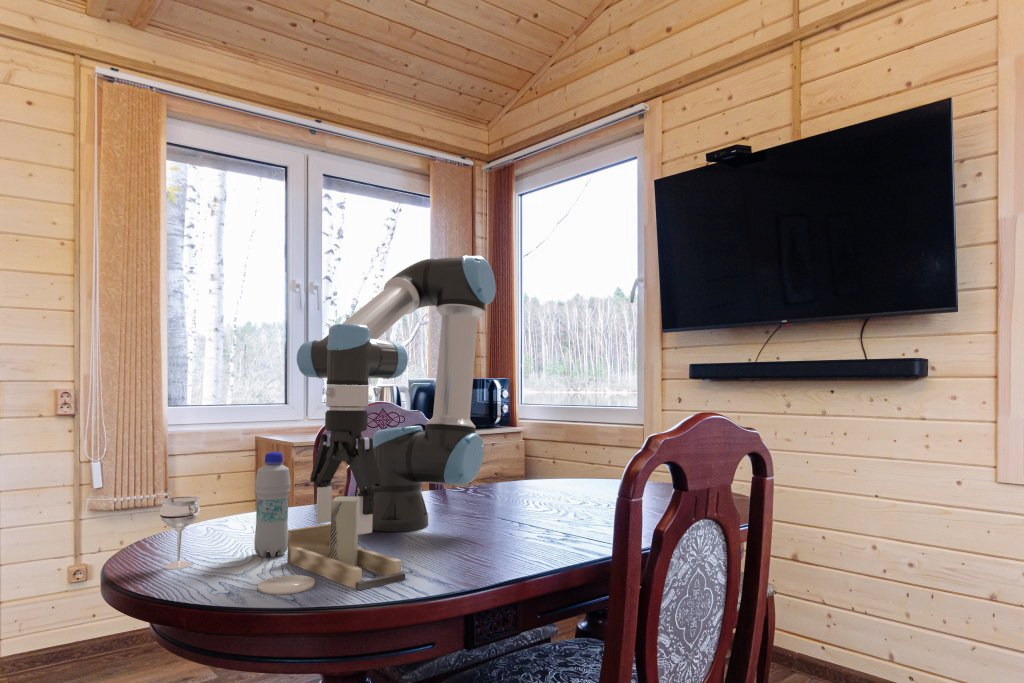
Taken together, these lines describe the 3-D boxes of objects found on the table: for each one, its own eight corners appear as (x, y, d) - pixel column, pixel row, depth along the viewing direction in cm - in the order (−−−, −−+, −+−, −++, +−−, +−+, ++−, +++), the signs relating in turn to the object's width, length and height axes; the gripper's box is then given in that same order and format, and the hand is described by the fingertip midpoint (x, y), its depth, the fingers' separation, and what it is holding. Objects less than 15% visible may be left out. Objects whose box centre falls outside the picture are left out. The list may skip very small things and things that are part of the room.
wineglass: (201, 567, 127) (203, 500, 128) (159, 572, 124) (162, 503, 125) (195, 559, 133) (197, 495, 134) (155, 563, 130) (158, 498, 130)
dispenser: (287, 562, 131) (288, 529, 131) (331, 554, 138) (331, 523, 138) (359, 590, 114) (359, 552, 114) (405, 579, 120) (405, 543, 121)
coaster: (248, 586, 116) (248, 582, 116) (298, 575, 122) (298, 572, 122) (273, 598, 109) (273, 594, 110) (325, 586, 116) (325, 582, 116)
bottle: (296, 552, 139) (298, 450, 140) (274, 560, 133) (277, 454, 134) (268, 549, 141) (270, 449, 142) (245, 556, 135) (248, 452, 136)
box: (333, 566, 128) (335, 495, 129) (358, 566, 129) (359, 495, 129) (328, 574, 123) (330, 500, 124) (354, 574, 123) (355, 500, 124)
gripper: (294, 407, 134) (290, 520, 132) (367, 411, 116) (363, 541, 114) (329, 407, 139) (325, 516, 137) (404, 410, 121) (401, 535, 120)
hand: (343, 527), depth 126 cm, fingers open, 13 cm apart
